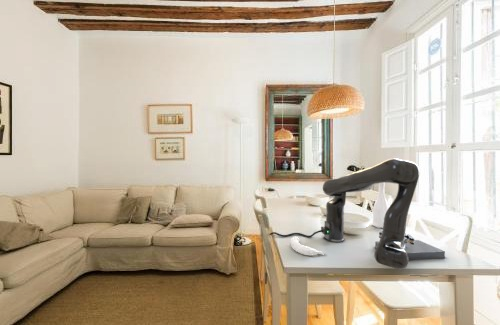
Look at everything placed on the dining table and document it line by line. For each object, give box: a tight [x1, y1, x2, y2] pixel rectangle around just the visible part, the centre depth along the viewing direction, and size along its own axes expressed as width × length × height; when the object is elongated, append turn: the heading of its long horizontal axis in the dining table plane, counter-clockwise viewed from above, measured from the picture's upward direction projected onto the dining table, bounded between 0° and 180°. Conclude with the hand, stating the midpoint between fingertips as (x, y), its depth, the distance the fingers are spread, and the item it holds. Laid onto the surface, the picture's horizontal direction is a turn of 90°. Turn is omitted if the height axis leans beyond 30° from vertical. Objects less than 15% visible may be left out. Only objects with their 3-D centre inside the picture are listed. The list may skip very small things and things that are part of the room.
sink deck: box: [374, 239, 446, 261], centre depth 108 cm, size 24×14×3 cm, turn 97°
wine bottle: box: [372, 183, 390, 229], centre depth 148 cm, size 10×10×30 cm
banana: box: [290, 236, 325, 256], centre depth 111 cm, size 5×19×15 cm
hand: (397, 232), depth 109 cm, fingers closed on plug, 4 cm apart
